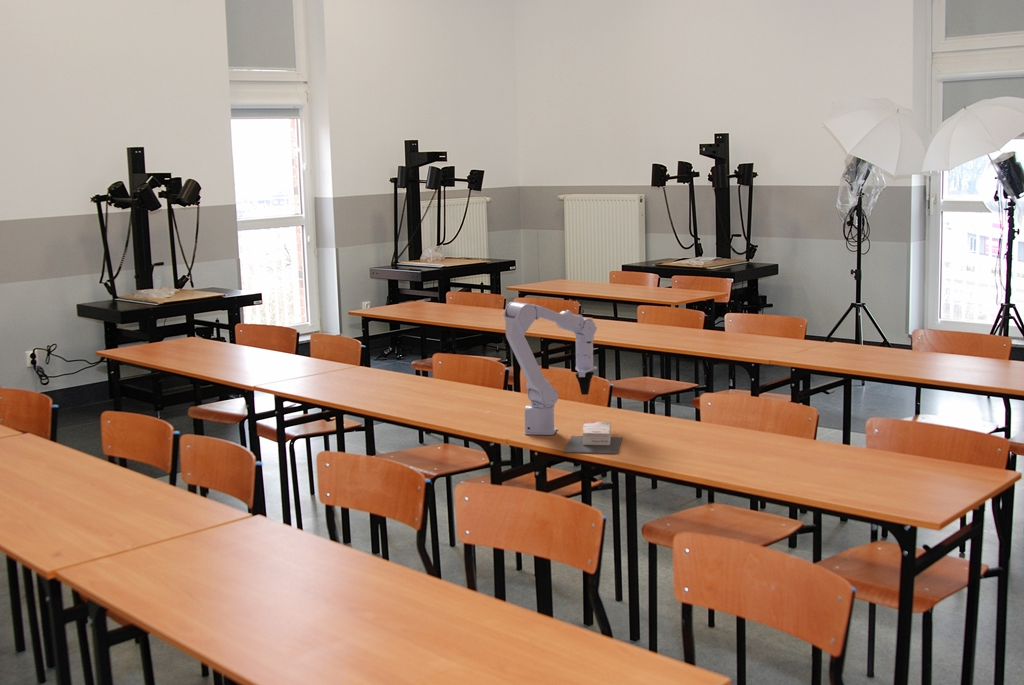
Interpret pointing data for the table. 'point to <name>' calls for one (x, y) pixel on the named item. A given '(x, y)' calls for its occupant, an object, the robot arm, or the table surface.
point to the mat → (592, 446)
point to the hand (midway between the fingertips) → (584, 394)
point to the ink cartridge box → (596, 433)
